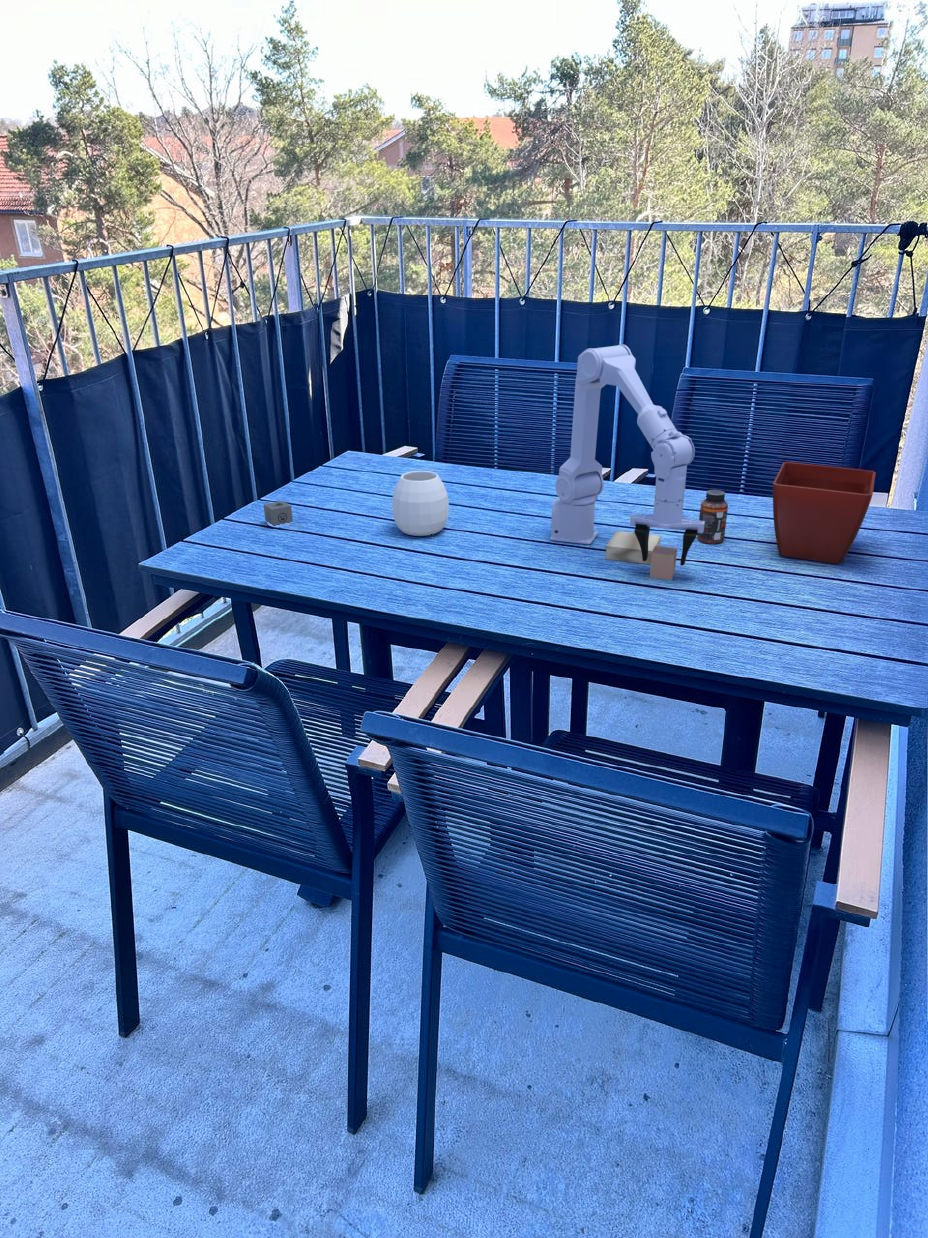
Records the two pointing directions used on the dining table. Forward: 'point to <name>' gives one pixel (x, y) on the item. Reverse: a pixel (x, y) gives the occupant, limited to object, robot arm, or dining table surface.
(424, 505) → the white vase
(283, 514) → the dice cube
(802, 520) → the plant pot
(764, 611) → the dining table surface
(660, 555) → the terracotta block
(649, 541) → the birch base
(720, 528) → the supplement bottle
